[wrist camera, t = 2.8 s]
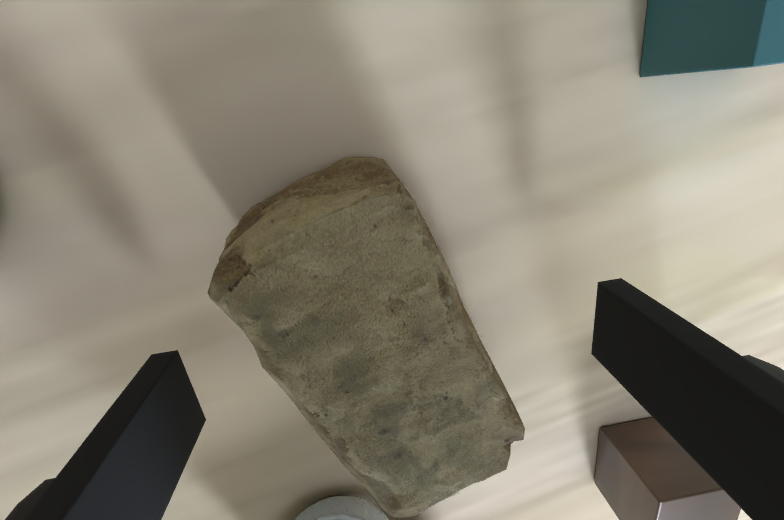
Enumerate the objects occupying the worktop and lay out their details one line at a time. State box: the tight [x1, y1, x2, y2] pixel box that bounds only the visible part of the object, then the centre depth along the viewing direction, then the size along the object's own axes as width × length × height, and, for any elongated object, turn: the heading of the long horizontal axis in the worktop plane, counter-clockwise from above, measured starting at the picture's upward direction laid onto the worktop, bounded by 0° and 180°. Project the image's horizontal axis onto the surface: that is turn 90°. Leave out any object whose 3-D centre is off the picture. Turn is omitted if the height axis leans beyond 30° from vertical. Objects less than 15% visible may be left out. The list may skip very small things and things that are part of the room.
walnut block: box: [594, 417, 741, 520], centre depth 19 cm, size 4×4×4 cm
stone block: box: [208, 157, 525, 517], centre depth 13 cm, size 6×12×5 cm, turn 28°
